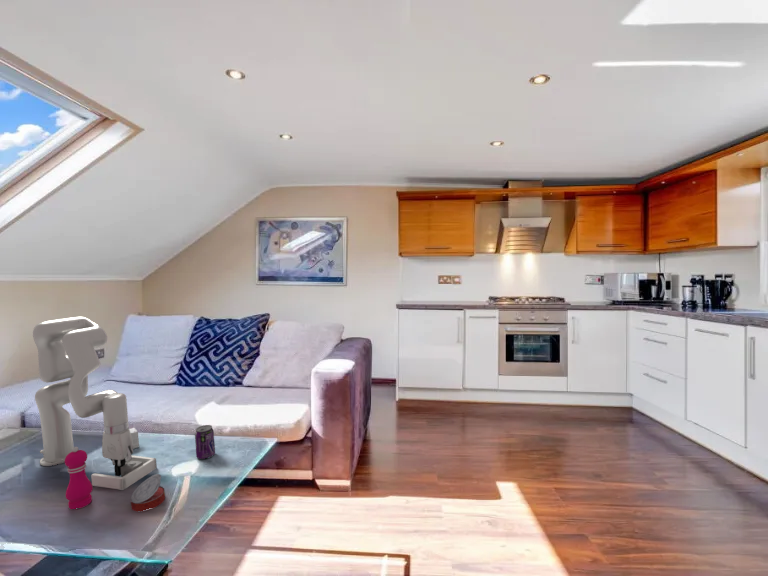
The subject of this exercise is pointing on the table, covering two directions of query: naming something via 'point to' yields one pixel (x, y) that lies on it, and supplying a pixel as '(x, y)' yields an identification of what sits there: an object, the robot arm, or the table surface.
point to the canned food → (148, 494)
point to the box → (128, 479)
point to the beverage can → (204, 442)
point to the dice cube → (130, 467)
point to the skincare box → (134, 437)
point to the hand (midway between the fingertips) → (120, 474)
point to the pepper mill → (78, 480)
